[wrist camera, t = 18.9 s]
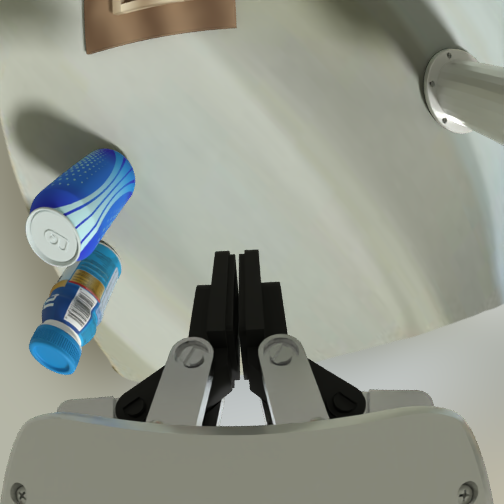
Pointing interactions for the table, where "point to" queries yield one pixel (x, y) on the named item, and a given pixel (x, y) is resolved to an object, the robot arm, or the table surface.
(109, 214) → the beer can
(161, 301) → the table surface
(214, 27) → the walnut board
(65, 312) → the beverage bottle
